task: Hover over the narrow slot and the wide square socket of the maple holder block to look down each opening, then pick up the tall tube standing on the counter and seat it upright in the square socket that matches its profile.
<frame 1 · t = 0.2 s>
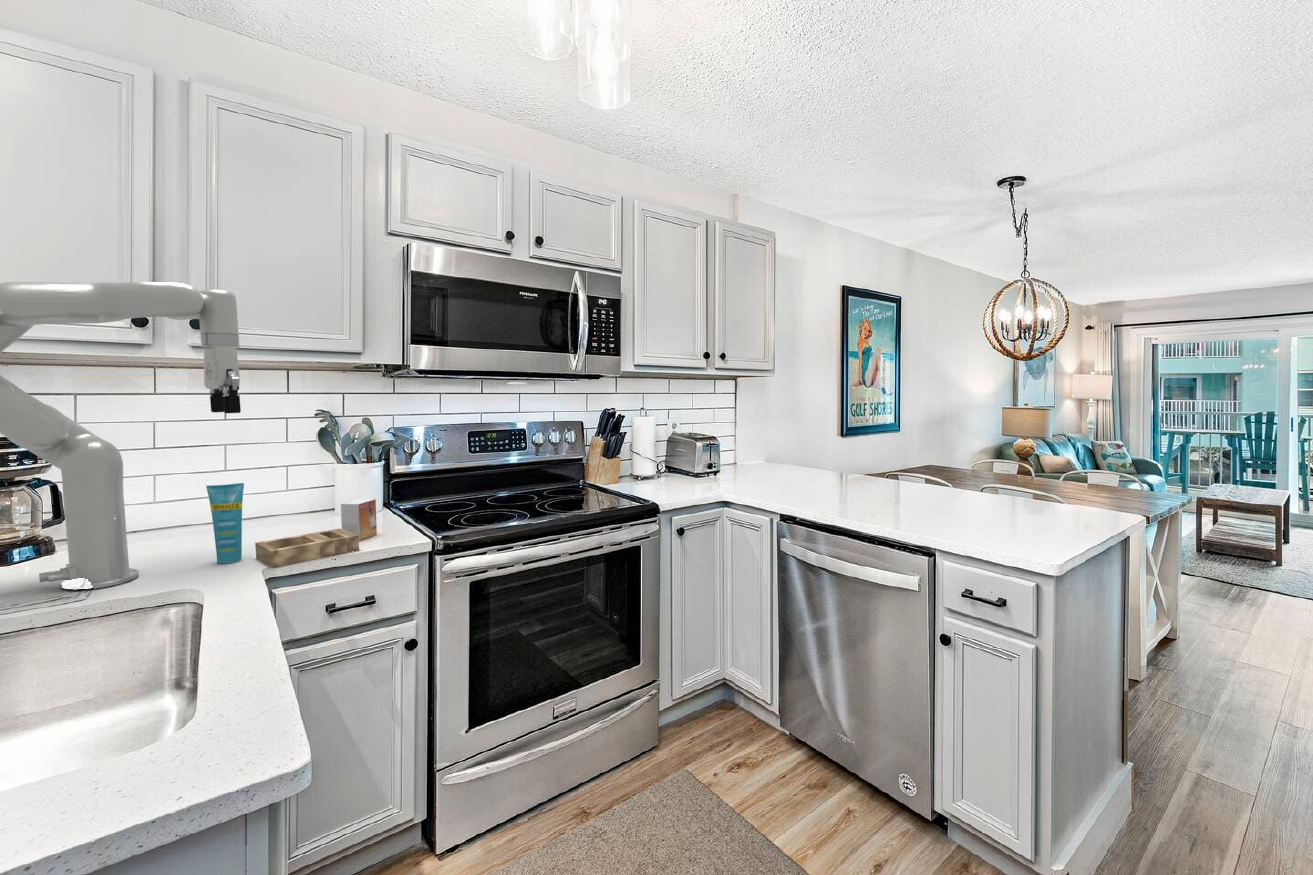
hand: (225, 412, 146), 36 cm above the countertop, tool pointing down, fingers open, 9 cm apart
small box: (360, 538, 170), on the countertop
tube: (230, 562, 146), on the countertop
holder block: (308, 554, 152), on the countertop
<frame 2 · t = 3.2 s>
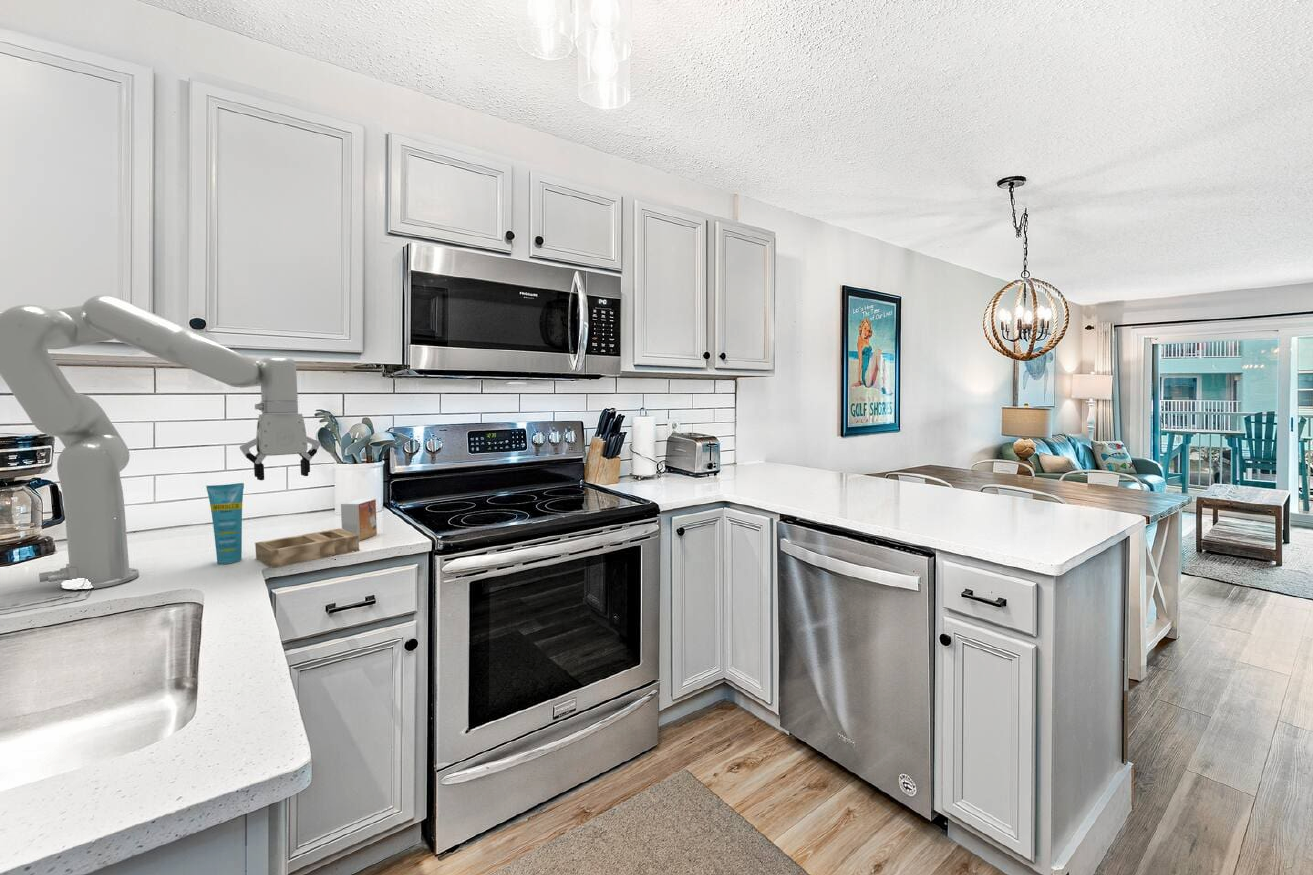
hand: (283, 477, 148), 20 cm above the countertop, tool pointing down, fingers open, 9 cm apart
nothing on the countertop moved.
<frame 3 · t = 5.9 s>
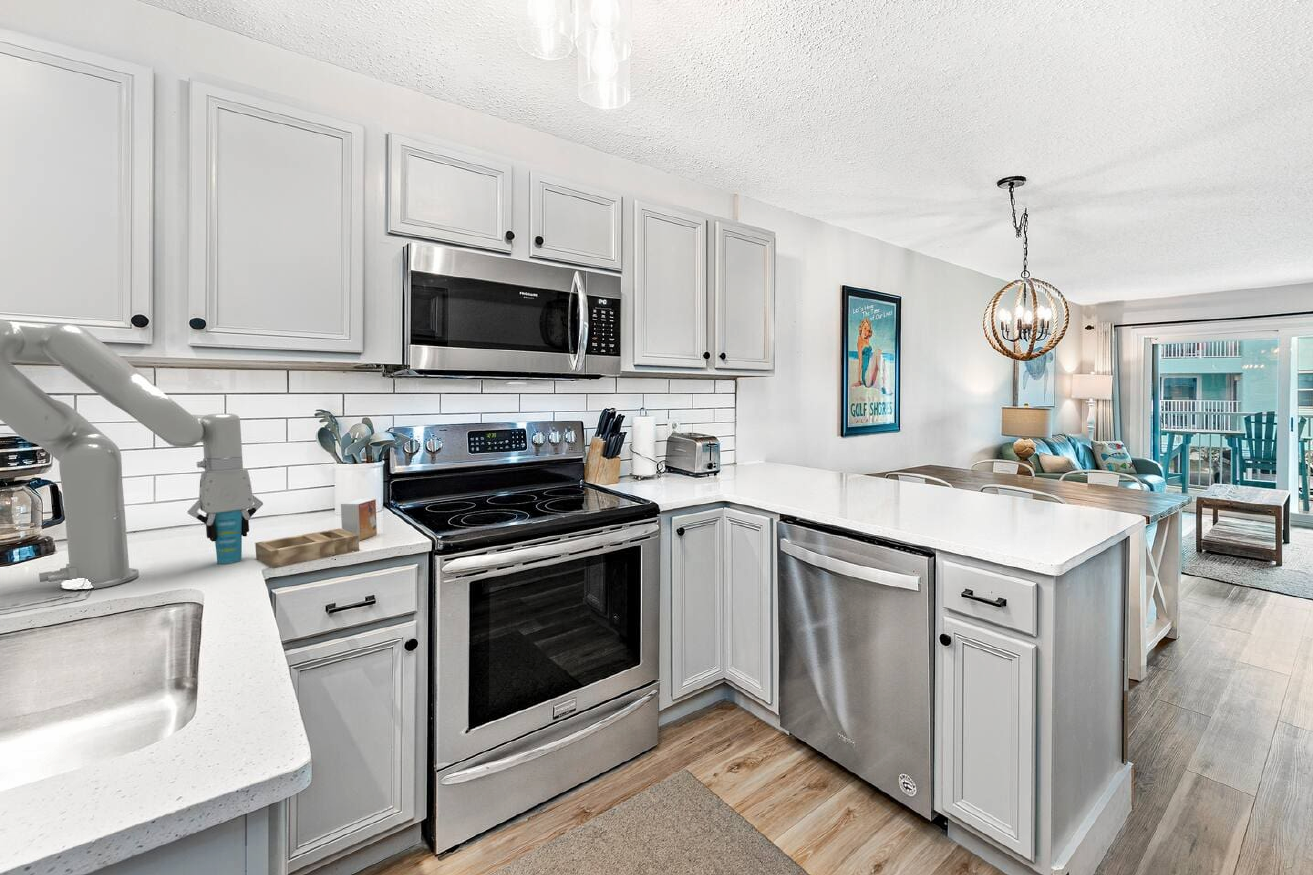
hand: (228, 537, 146), 6 cm above the countertop, tool pointing down, fingers closed on tube, 5 cm apart
tube: (230, 562, 146), on the countertop, touching gripper
everything else where it was.
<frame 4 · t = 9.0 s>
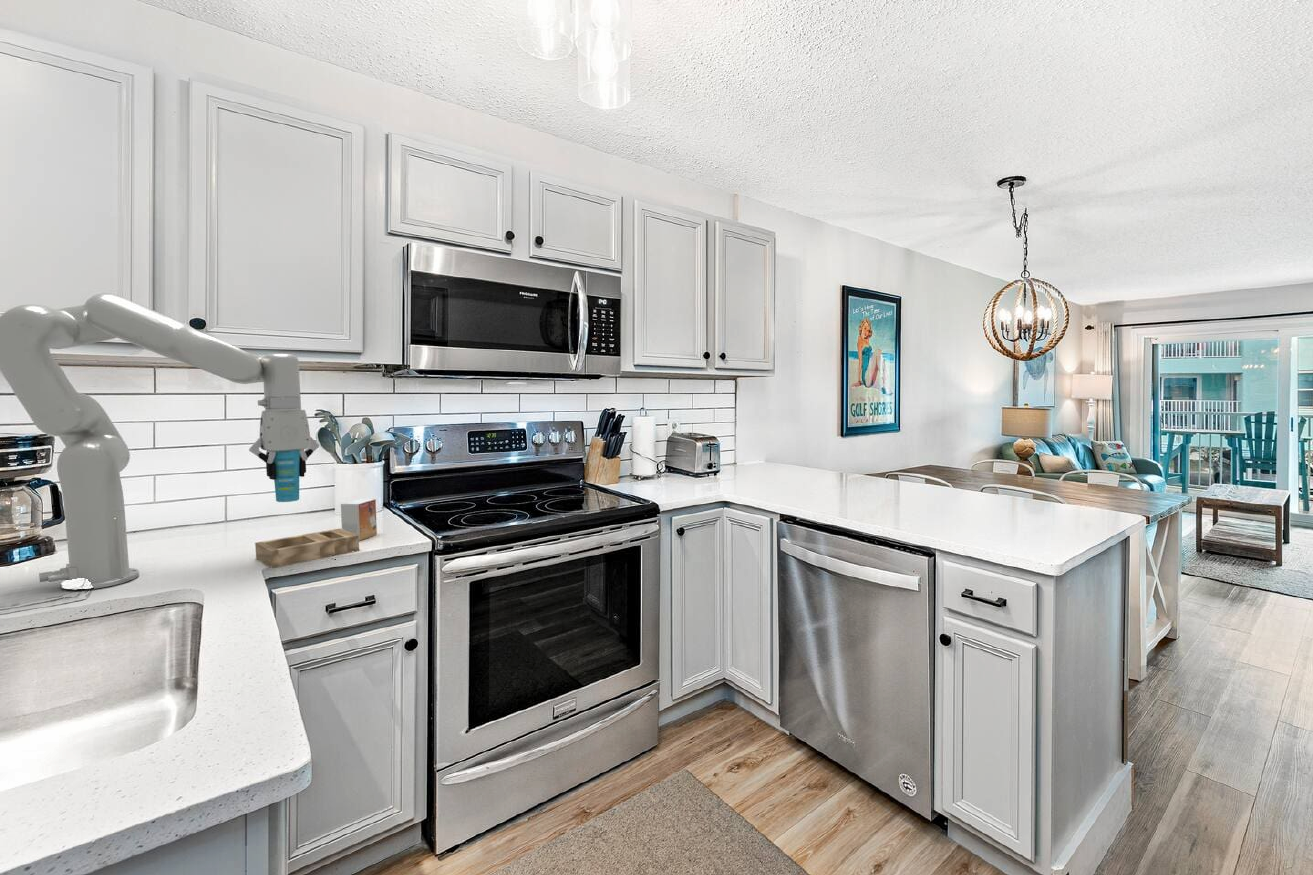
hand: (287, 476, 148), 20 cm above the countertop, tool pointing down, fingers closed on tube, 5 cm apart
tube: (288, 501, 148), point 14 cm above the countertop, touching gripper
everything else where it was.
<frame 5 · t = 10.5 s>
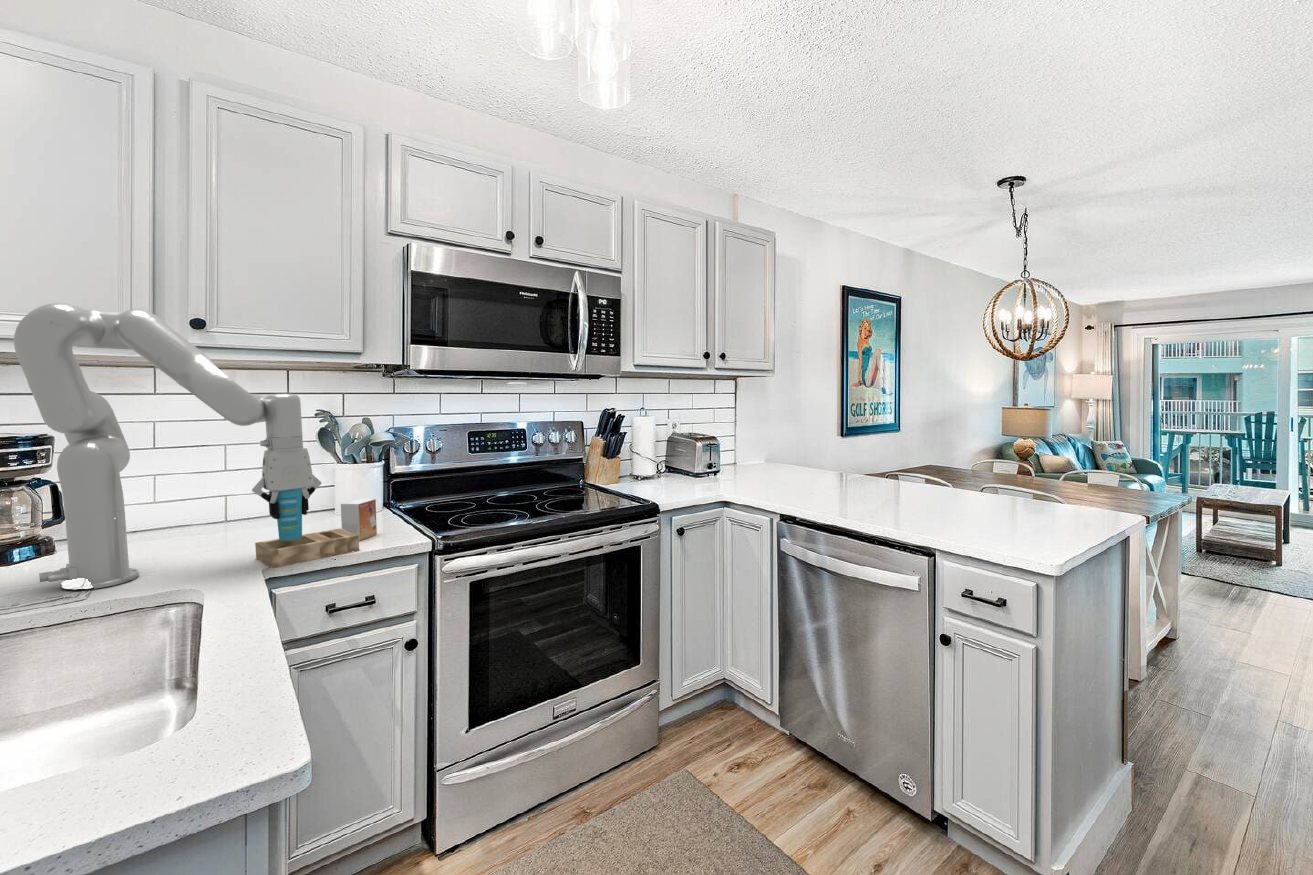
hand: (289, 515, 149), 11 cm above the countertop, tool pointing down, fingers closed on tube, 5 cm apart
tube: (291, 539, 149), point 5 cm above the countertop, touching gripper
everything else where it was.
when the fingers open (7 cm above the countertop, at t = 11.7 s): tube drops 1 cm, resting in holder block.
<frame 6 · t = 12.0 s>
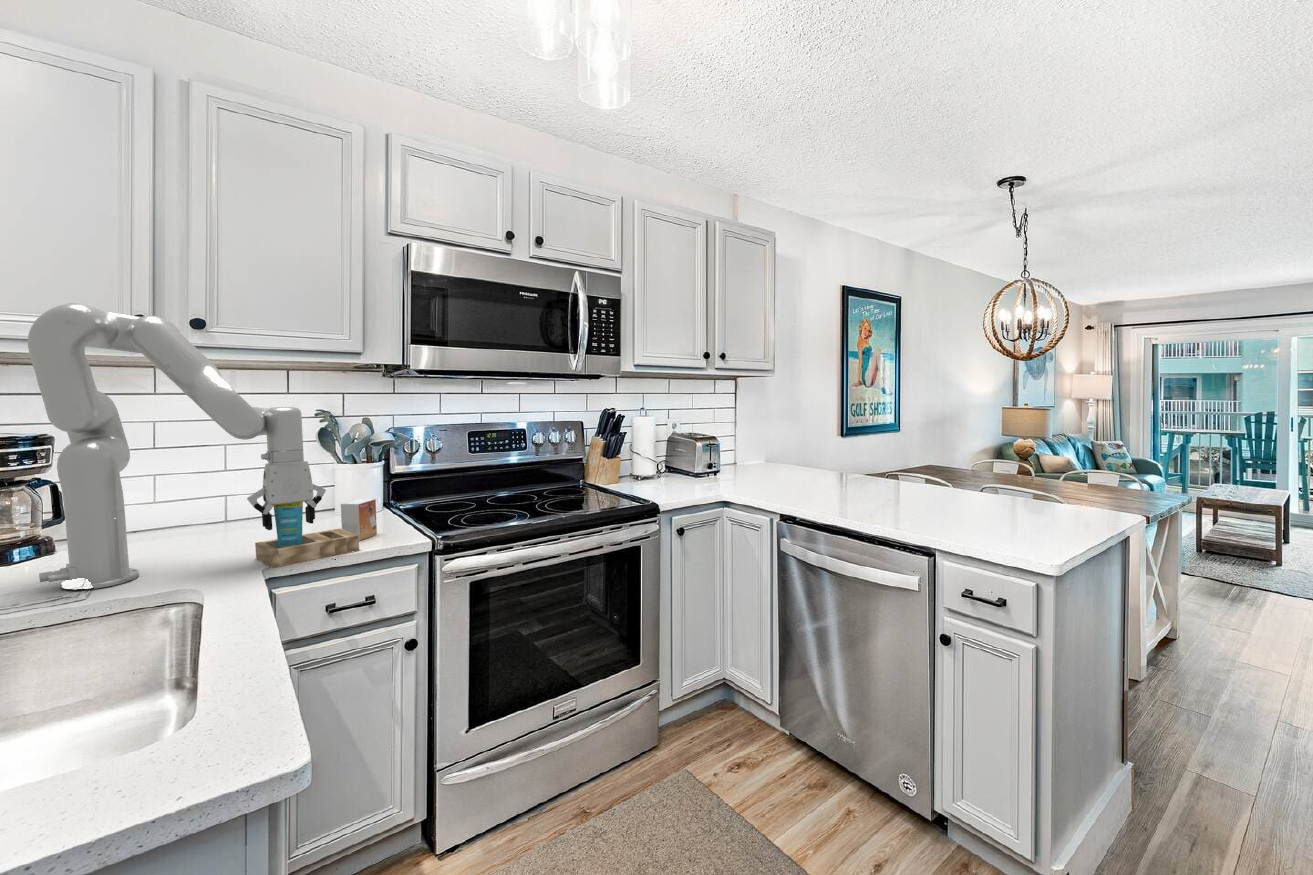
hand: (289, 525, 149), 8 cm above the countertop, tool pointing down, fingers open, 8 cm apart
tube: (291, 558, 150), resting in holder block
everything else where it was.
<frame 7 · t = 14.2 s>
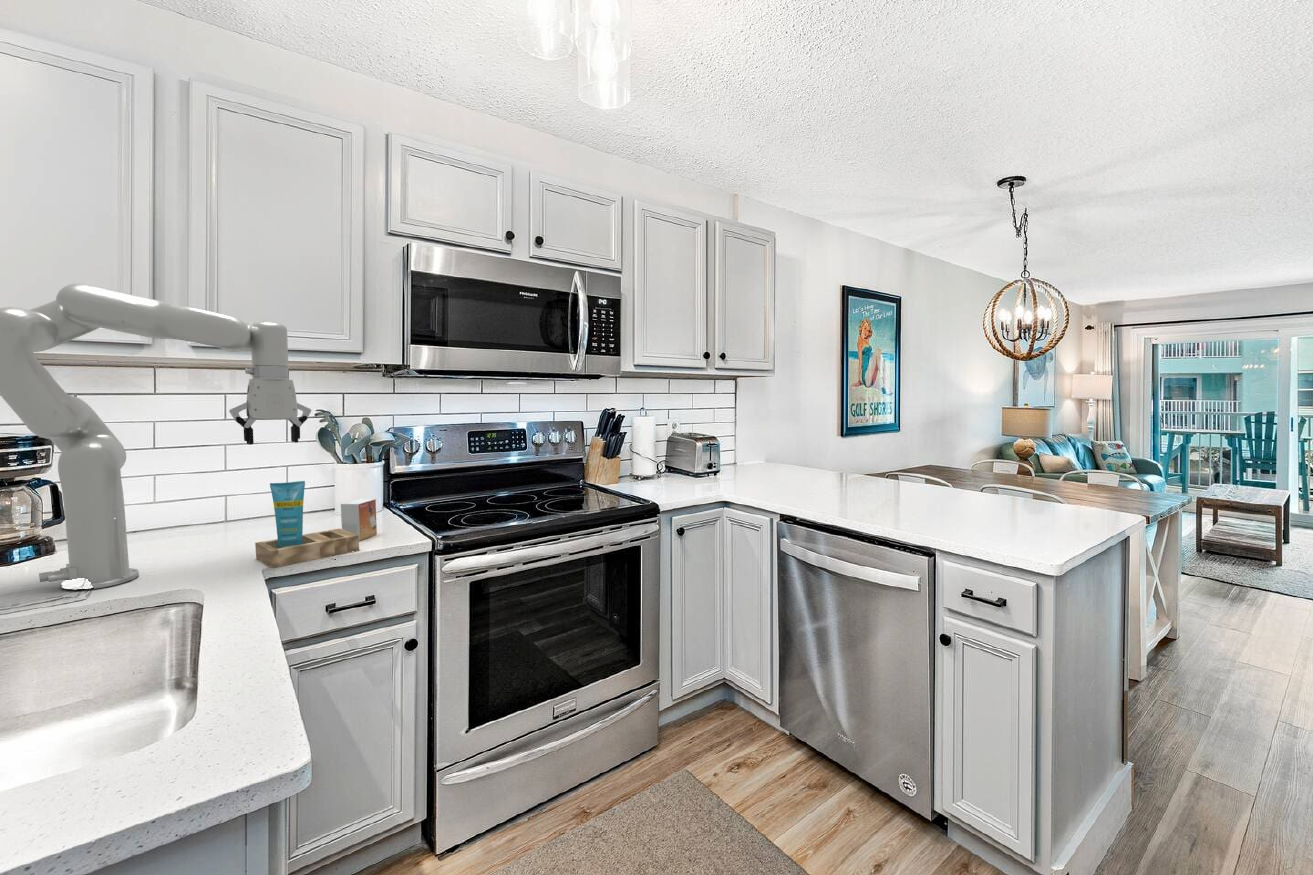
hand: (272, 443, 148), 29 cm above the countertop, tool pointing down, fingers open, 9 cm apart
nothing on the countertop moved.
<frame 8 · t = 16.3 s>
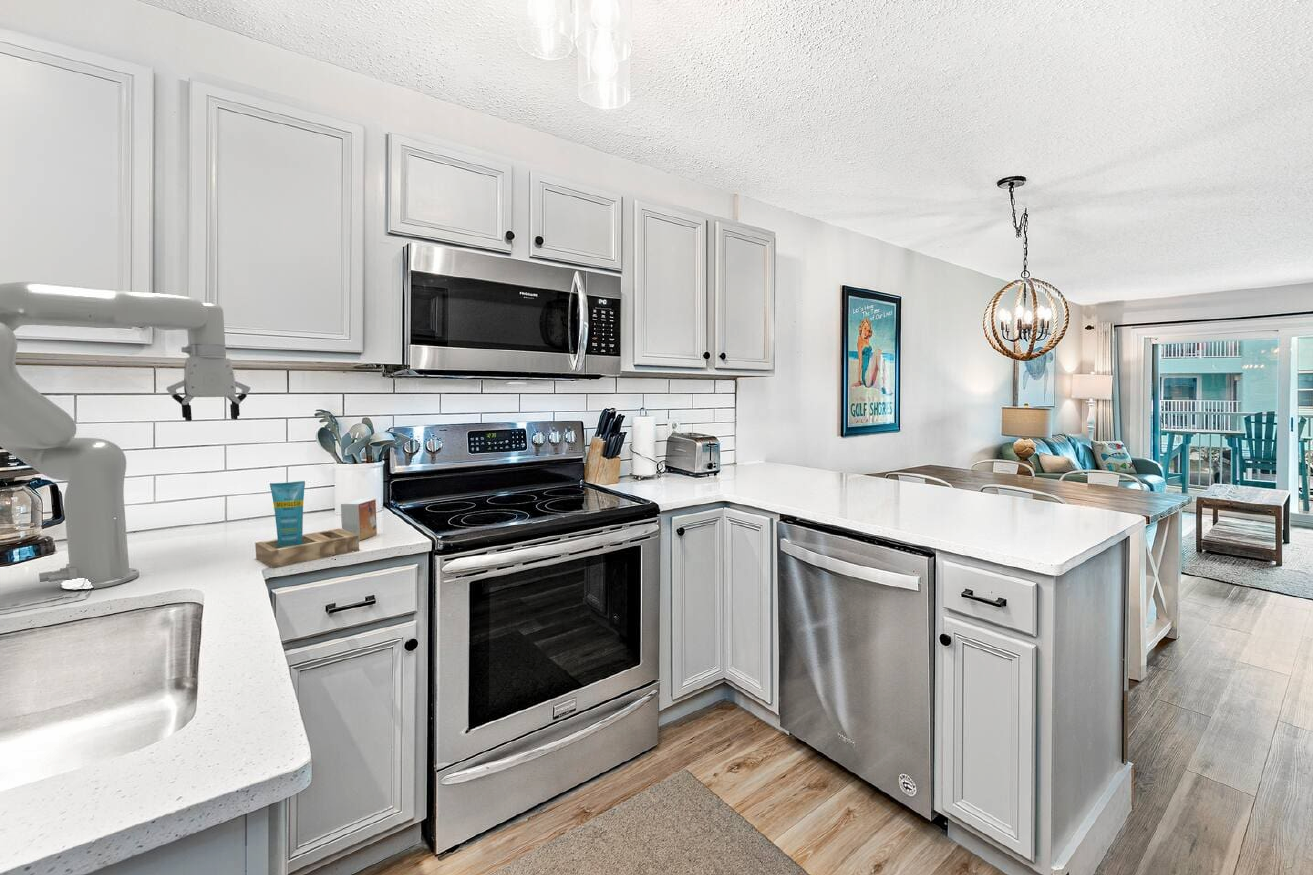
hand: (212, 419, 153), 34 cm above the countertop, tool pointing down, fingers open, 9 cm apart
nothing on the countertop moved.
at the end: tube 0.1 cm from the target spot on the holder block, point 0.0 cm above the holder block's base; tube tilted 0°; the gripper is holding nothing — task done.
